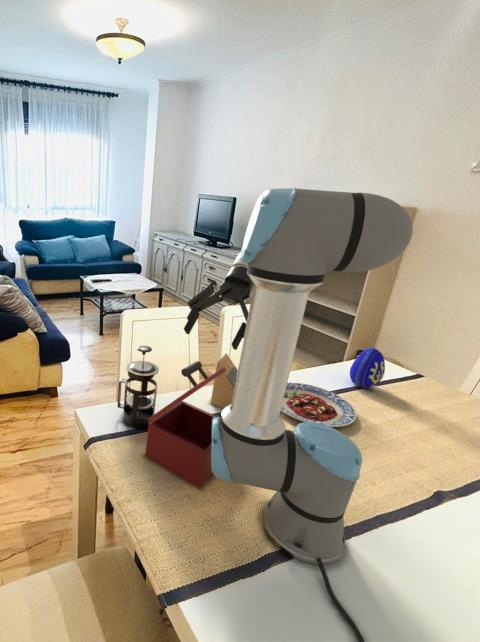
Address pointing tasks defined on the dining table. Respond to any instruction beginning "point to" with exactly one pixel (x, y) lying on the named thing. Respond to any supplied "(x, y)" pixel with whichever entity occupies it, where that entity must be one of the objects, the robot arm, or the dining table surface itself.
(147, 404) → the french press
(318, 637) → the dining table surface
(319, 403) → the ceramic plate
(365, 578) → the dining table surface
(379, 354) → the ornament
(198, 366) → the box lid
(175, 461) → the red hinged lid box
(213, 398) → the sandwich container
